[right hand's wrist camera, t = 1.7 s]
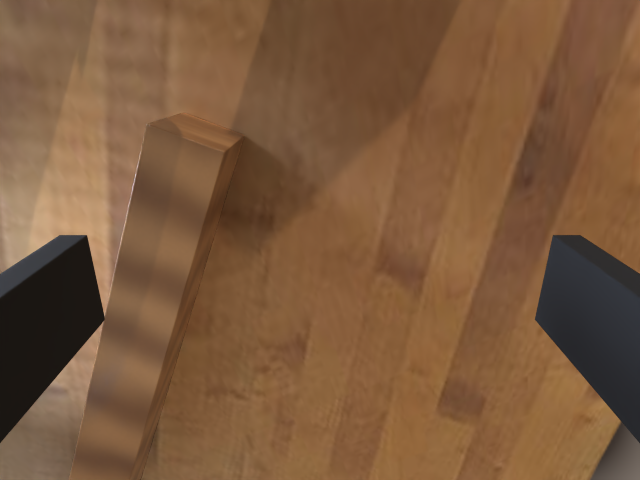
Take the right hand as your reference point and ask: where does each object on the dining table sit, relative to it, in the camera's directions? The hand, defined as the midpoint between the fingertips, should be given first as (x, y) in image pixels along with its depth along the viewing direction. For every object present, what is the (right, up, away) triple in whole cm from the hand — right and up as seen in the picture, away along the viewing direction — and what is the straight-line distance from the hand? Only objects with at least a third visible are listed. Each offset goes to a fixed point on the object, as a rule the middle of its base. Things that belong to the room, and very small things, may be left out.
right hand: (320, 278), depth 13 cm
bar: (-21, -20, +36) cm, 46 cm away
